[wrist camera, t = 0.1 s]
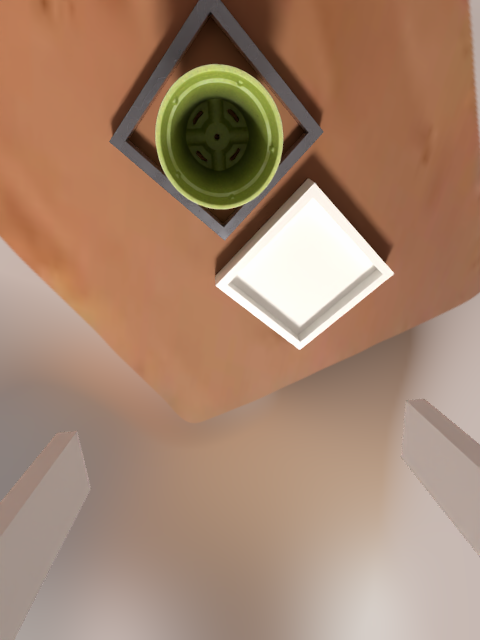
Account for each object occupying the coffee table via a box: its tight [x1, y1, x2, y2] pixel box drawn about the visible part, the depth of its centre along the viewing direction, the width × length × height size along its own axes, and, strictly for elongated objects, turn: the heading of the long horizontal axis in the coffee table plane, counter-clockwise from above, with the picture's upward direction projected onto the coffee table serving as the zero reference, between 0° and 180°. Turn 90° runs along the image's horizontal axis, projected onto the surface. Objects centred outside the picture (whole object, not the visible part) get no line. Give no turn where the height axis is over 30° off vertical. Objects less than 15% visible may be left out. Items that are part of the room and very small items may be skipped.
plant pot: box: [155, 64, 283, 209], centre depth 27 cm, size 9×9×9 cm
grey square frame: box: [109, 0, 323, 240], centre depth 30 cm, size 14×14×2 cm
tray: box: [215, 178, 394, 350], centre depth 39 cm, size 15×15×2 cm
